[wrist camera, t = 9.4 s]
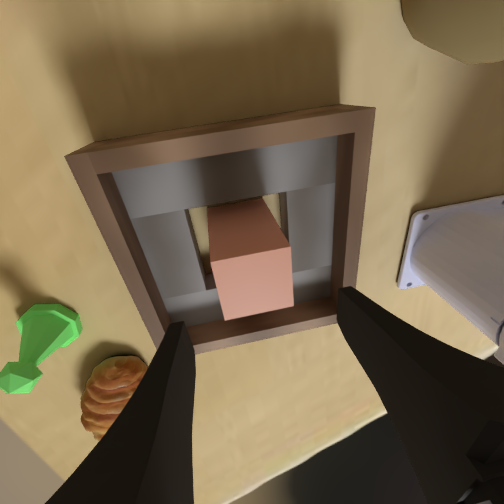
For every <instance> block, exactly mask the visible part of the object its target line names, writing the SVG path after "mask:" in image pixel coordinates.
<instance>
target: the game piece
mask: <svg viewBox="0 0 504 504" xmlns="http://www.w3.org/2000/svg"><path fill="white" fill-rule="evenodd" d="M16 324H17V327H18V329H19V331H20V334H21V344H20V353H19V361H18V362H8V363H7V364H6V365H5V367H4V368H3V369H2V371H1V372H0V389H2V390H3V391H4V392H5V393H6V394H13V393H30V392H31V390H32V389H33V387H34V386H35V385H36V383H37V382H38V380H39V379H40V377H41V376H42V374H43V373H42V372H41V371H40V370H39V369H38V368H37V367H36V366H37V365H38V364H40V363H41V362H42V361H43V360H44V359H46V358H47V357H48V356H49V355H51V354H52V353H53V352H54V351H55V350H57V349H58V348H59V347H66V346H68V345H69V344H70V343H71V342H73V341H74V340H75V339H76V338H77V337H79V335H80V333H81V331H82V325H81V321H80V318H79V314H77V313H75V312H73V311H71V310H70V309H68V308H66V307H64V306H62V305H61V304H34V305H33V306H32V307H31V308H30V309H29V310H27V311H26V312H25V313H24V314H23V315H22V316H21V317H20V318H19V320H18V321H17V322H16Z"/></svg>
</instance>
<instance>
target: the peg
mask: <svg viewBox="0 0 504 504" xmlns="http://www.w3.org/2000/svg"><path fill="white" fill-rule="evenodd" d="M207 216H208V232H209V249H210V263H211V267H212V271H213V275H214V279H215V283H216V287H217V291H218V295H219V299H220V303H221V307H222V311H223V315H224V319H225V321H226V320H230V319H235V318H240V317H244V316H249V315H254V314H259V313H263V312H268V311H273V310H278V309H282V308H287V307H292V306H294V299H293V279H292V259H291V246H290V244H289V243H288V241H287V239H286V237H285V236H284V234H283V232H282V231H281V229H280V227H279V225H278V224H277V222H276V220H275V219H274V217H273V215H272V213H271V212H270V210H269V208H268V207H267V205H266V203H265V201H264V200H263V198H261V199H256V200H250V201H244V202H239V203H233V204H228V205H222V206H216V207H211V208H207Z"/></svg>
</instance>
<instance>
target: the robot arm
mask: <svg viewBox="0 0 504 504" xmlns="http://www.w3.org/2000/svg"><path fill="white" fill-rule="evenodd" d="M424 216H425V217H424ZM423 217H424V218H423ZM422 285H427V286H428V287H430V288H431V289H432V290H433V291H434V292H435V293H437V294H438V295H439V296H440V297H441V298H442V299H444V300H445V301H446V302H447V303H448V304H450V305H451V306H452V307H453V308H454V309H455V310H457V311H458V312H459V313H460V314H461V315H462V316H464V317H465V318H466V319H467V320H468V321H469V322H471V323H472V324H473V325H474V326H475V327H476V328H478V329H479V330H480V331H481V332H482V333H483V334H485V335H486V336H487V337H488V338H489V339H490V340H492V341H493V342H494V343H495V344H496V345H498V346H499V348H498V350H497V351H496V353H495V354H494V356H495V357H496V358H497V359H498V360H499V361H500V362H501V363H503V364H504V195H500V196H495V197H490V198H485V199H479V200H474V201H469V202H464V203H458V204H453V205H448V206H443V207H438V208H432V209H427V210H422V211H418V212H415V213H414V214H413V215H412V218H411V222H410V227H409V232H408V236H407V241H406V245H405V250H404V255H403V259H402V264H401V269H400V273H399V278H398V282H397V287H398V288H399V289H401V290H402V289H408V288H412V287H417V286H422ZM336 320H337V322H338V325H339V327H340V329H341V331H342V333H343V336H344V338H345V340H346V341H347V343H348V345H349V346H350V348H351V350H352V351H353V353H354V355H355V356H356V358H357V359H358V361H359V363H360V364H361V366H362V367H363V369H364V371H365V372H366V374H367V375H368V377H369V379H370V380H371V382H372V384H373V385H374V387H375V389H376V391H377V392H378V394H379V396H380V398H381V400H382V402H383V404H384V406H385V408H386V410H387V412H388V414H389V417H390V419H391V421H392V423H393V425H394V427H395V429H396V431H397V433H398V436H399V437H400V440H401V442H402V444H403V446H404V449H405V451H406V453H407V456H408V458H409V460H410V462H411V465H412V467H413V469H414V471H415V474H416V476H417V479H418V481H419V484H420V486H421V488H422V491H423V493H424V495H425V498H426V500H427V503H428V504H504V368H503V367H500V366H497V365H495V364H492V363H489V362H487V361H484V360H482V359H479V358H477V357H475V356H472V355H470V354H468V353H465V352H463V351H461V350H458V349H456V348H454V347H452V346H450V345H448V344H445V343H443V342H441V341H439V340H437V339H435V338H433V337H431V336H430V335H428V334H426V333H424V332H422V331H420V330H418V329H416V328H415V327H413V326H411V325H410V324H408V323H406V322H405V321H403V320H401V319H400V318H398V317H396V316H395V315H393V314H392V313H390V312H388V311H387V310H385V309H384V308H382V307H381V306H379V305H378V304H376V303H375V302H374V301H372V300H371V299H369V298H368V297H366V296H365V295H363V294H362V293H361V292H359V291H358V290H356V289H355V288H353V287H352V286H348V287H343V288H338V302H337V317H336ZM195 377H196V367H195V350H194V347H193V345H192V342H191V339H190V336H189V334H188V331H187V328H186V325H185V323H184V321H180V322H175V323H171V324H169V326H168V328H167V330H166V332H165V335H164V337H163V339H162V341H161V343H160V345H159V347H158V349H157V352H156V353H155V355H154V357H153V359H152V361H151V363H150V365H149V367H148V369H147V371H146V372H145V374H144V376H143V377H142V379H141V381H140V383H139V384H138V386H137V388H136V389H135V391H134V393H133V394H132V396H131V397H130V399H129V401H128V402H127V404H126V405H125V407H124V408H123V410H122V411H121V412H120V414H119V415H118V417H117V418H116V419H115V421H114V422H113V424H112V425H111V426H110V428H109V429H108V430H107V432H106V433H105V434H104V436H103V437H102V438H101V440H100V441H99V442H98V443H97V445H96V446H95V447H94V448H93V450H92V451H91V452H90V453H89V454H88V456H87V457H86V458H85V459H84V460H83V462H82V463H81V464H80V465H79V466H78V468H77V469H76V470H75V471H74V472H73V474H72V475H71V476H70V477H69V478H68V479H67V480H66V482H65V483H64V484H63V485H62V486H61V487H60V488H59V489H58V490H57V491H56V492H55V493H54V495H53V496H52V497H51V498H50V499H49V500H48V501H47V502H46V503H45V504H194V496H193V467H192V422H193V407H194V393H195Z"/></svg>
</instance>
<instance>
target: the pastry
mask: <svg viewBox="0 0 504 504" xmlns="http://www.w3.org/2000/svg"><path fill="white" fill-rule="evenodd" d="M147 369H148V368H147V366H146V364H145V363H144V362H142V361H141V360H140V358H138V357H135V356H116V357H111V358H107V359H105V360H104V361H102V362H101V363H100V364H99V365H97V366H96V367H95V368H94V369H93V372H92V374H91V377H90V378H89V379H88V380H87V382H86V389H85V391H84V392H83V394H82V396H81V409H82V412H83V414H82V416H81V422H82V424H83V426H84V428H85V429H86V430H87V431H90V432H92V433H93V435H94V438H95V439H96V440H98V441H100V440H101V438H102V437H103V436H104V434H105V433H106V432H107V430H108V429H109V428H110V426H111V425H112V424H113V422H114V421H115V419H116V418H117V417H118V415H119V414H120V412H121V411H122V410H123V408H124V407H125V405H126V404H127V402H128V401H129V399H130V397H131V396H132V394H133V393H134V391H135V389H136V388H137V386H138V384H139V383H140V381H141V379H142V377H143V376H144V374H145V372H146V371H147Z"/></svg>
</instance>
